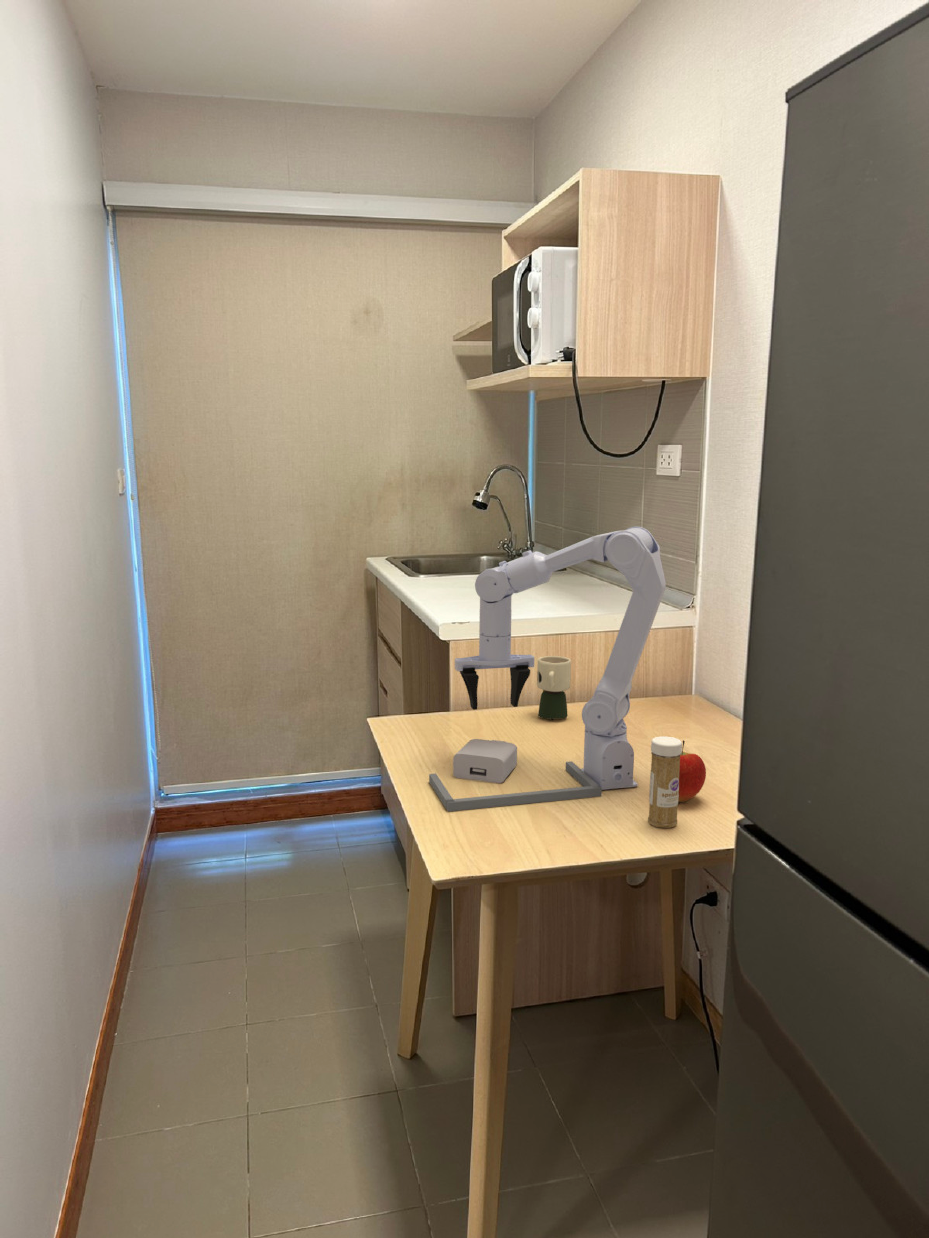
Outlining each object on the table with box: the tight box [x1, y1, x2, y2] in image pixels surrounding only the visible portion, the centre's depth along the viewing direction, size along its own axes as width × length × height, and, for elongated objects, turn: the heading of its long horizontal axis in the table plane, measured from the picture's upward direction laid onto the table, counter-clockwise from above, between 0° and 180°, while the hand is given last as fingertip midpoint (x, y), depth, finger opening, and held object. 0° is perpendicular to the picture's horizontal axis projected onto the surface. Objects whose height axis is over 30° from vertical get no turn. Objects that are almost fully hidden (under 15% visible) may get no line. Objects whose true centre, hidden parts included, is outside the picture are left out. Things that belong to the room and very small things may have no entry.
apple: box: [678, 739, 707, 803], centre depth 146 cm, size 8×8×10 cm
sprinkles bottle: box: [647, 735, 683, 829], centre depth 137 cm, size 5×5×13 cm
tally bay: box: [428, 761, 603, 812], centre depth 151 cm, size 13×26×2 cm, turn 105°
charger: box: [452, 738, 518, 784], centre depth 162 cm, size 5×9×15 cm
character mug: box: [536, 655, 572, 721], centre depth 191 cm, size 11×7×13 cm, turn 167°
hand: (494, 706), depth 163 cm, fingers open, 7 cm apart
